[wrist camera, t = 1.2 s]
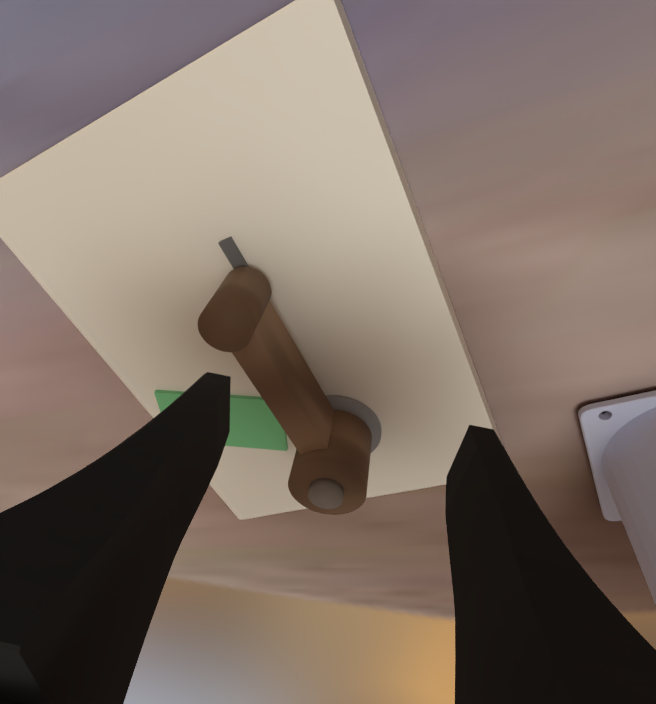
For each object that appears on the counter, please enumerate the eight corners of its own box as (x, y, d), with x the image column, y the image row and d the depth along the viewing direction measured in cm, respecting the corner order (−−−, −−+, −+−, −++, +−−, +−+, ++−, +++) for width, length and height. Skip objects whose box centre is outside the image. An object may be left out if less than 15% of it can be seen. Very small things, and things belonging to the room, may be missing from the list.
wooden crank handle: (382, 452, 22) (377, 516, 19) (320, 465, 23) (307, 527, 21) (273, 253, 17) (246, 301, 14) (200, 282, 18) (162, 332, 15)
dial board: (334, -18, 14) (325, -19, 13) (504, 449, 24) (509, 476, 22) (-5, 185, 19) (-37, 199, 18) (246, 498, 29) (238, 523, 28)
